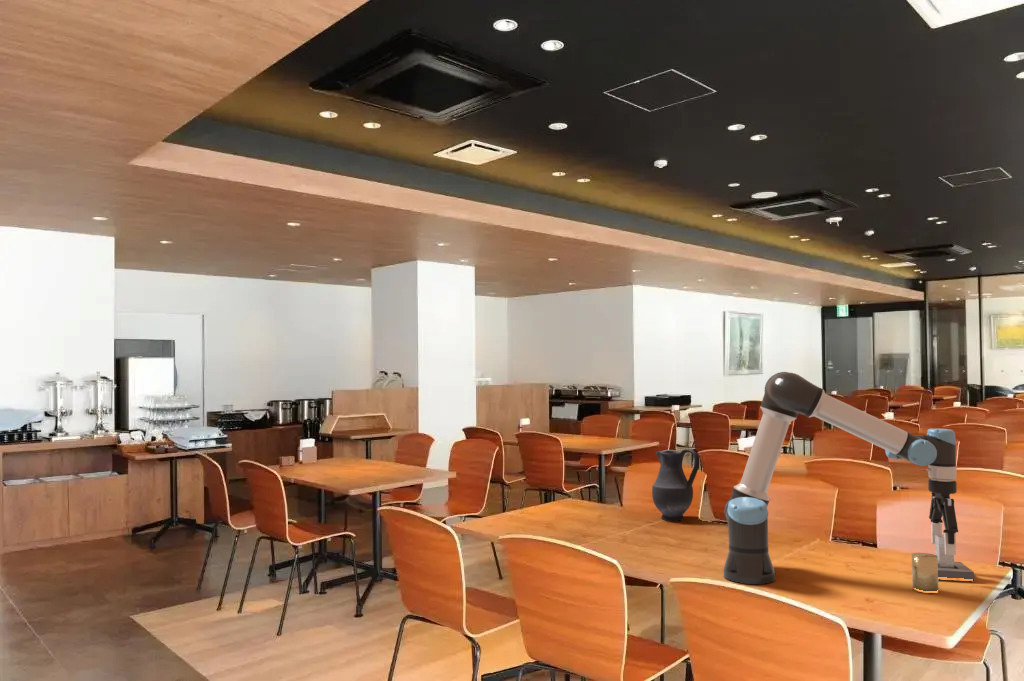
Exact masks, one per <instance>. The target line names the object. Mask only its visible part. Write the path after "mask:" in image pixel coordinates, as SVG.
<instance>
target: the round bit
mask: <svg viewBox="0 0 1024 681" xmlns="http://www.w3.org/2000/svg"><path fill="white" fill-rule="evenodd" d="M911 574H912V575H911V576H912V581H911V582H912V589H913V588H916V589H919V590H923V591H937V590H938V589H939V580H938V557H937V556H936V554H934V553H928V552H912V553H911ZM939 590H940V589H939Z"/></svg>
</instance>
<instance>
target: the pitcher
mask: <svg viewBox="0 0 1024 681" xmlns="http://www.w3.org/2000/svg"><path fill="white" fill-rule="evenodd" d="M686 453H689V454H691V455H693V457H694V464H693V466H692V467H693V468H692V470H691V473H690V475H689V478H687V477H686V475H685V472H684V470H683V468H684V467H683V461H684V457H685V455H686ZM655 455H656V457H657V458H658V461H659V464H660V467H659V471H658V474H657V477H656V480H655V482H653V485H652V488H651V495H652V496H651V497H652V500H653V504H654V506H655V507H656V509H658V511H660V513H661V514H662V515H661V517H660V519H662V521H668V522H669V521H670V522H679V521H678V520H682V521H684V520H685V517H684V514H685V513H686V511H688V509H689V508H690V507H691V505H692V503H693V499H694V489H693V484H694V480H695V479H696V476H697V473H698V471H699V468H700V467H699V466H700V457H699V454H698V453H697V452H696V451H695V450H694V449H691V448H685V449H682V450H681V451H680V450H674V449H666V450H662V451H661V450H659V451H656V452H655ZM683 519H684V520H683Z"/></svg>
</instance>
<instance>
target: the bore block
mask: <svg viewBox="0 0 1024 681" xmlns="http://www.w3.org/2000/svg"><path fill="white" fill-rule="evenodd" d="M938 577H947V578H964V579H974V580H975V572H974V571H973V570H972V569H971V568H970V567H968V566H966V565H965V564H964V563H963V562H961V561H954V569H952V568H938Z"/></svg>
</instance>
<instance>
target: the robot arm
mask: <svg viewBox="0 0 1024 681" xmlns="http://www.w3.org/2000/svg"><path fill="white" fill-rule="evenodd" d="M759 408H760V410H761V411H762V415H761V418H760V419H761V420H760V422H759V425H758V429H757V431H756V434H755V437H754V439H753V440H754V441H753V442H752V446H751V450H750V452H749V456H748V459H747V461H746V465H745V468H744V471H743V473H742V474H743V475H742V476H741V480H740V482H739V483H738V484H736V485H734V486H733V489H732V491H731V494H730V498H729V499H728V501H727V502H726V504H725V507H724V516H725V520H726V521H727V525H728V526H727V527H728V528H727V529H728V553H727V556H726V560H725V563H724V565H723V570H722V571H723V572H722V574H723V578H725V579H726V580H728V581H730V580H731V582H734V581H735V583H738V582H740V583H739V584H745V585H747V584H748V585H766V584H765V583H767V584H770V582H771V583H773V582H775V581H776V570H775V568H774V565H773V563H772V562H773V561H772V559H771V556H770V553H769V551H770V550H769V521H768V520H769V519H768V518H769V517H768V516H769V510H768V506H769V503H770V497H769V495H768V490H769V487H770V483H771V481H772V478H773V474H774V471H775V469H776V466H777V463H778V459H779V456H780V454H781V450H782V447H783V445H784V442H785V439H786V437H787V436H786V435H787V432H788V430H789V427H790V424H791V423H792V422H793V421H795V420H797V418H798V416H799V414H800V415H803V416H804V417H807V418H812V417H815V418H817V419H819V420H821V421H823V422H825V423H827V424H830V425H831V426H833V427H836V428H839V429H840V430H842V431H845V432H847V433H849V434H851V435H853V436H855V437H858V438H859V439H862V440H863V441H866V442H868V443H869V444H873V446H877V447H879V448H881V449H883V450H884V451H885V455H886V456H887V458H888V459H892V460H906V461H907V462H910V463H912V464H913V465H916V466H918V467H919V466H920V467H922V466H923V467H925V466H928V467H926V469H925V470H926V472H927V473H928V476H927V477H928V480H927V482H928V491H929V492H930V493H931V501H930V509H929V516H928V518H929V520H930V523H931V544H932V545H935V534H937V535H943V534H944V535H945V555H954V556H956V554H957V553H956V552H957V551H956V547H957V546H956V533H959V528H958V522H957V516H956V509H955V499H954V498H951V496H950V495H951V494H952V495H954V494H957V490H958V488H957V481H956V480H957V478H958V477H957V476H958V475H957V473H958V472H957V457H956V456H957V441H956V432H955V431H954V430H953V429H949V428H929V429H927V432H926V434H922V435H921V434H919V435H918V434H913V433H910V432H908V431H906V430H904V429H902V428H899V427H897V426H895V425H893V424H891V423H889V422H887V421H884V420H882V419H880V418H878V417H876V416H874V415H871V414H869V413H867V412H865V411H863V410H861V409H858V408H857V407H854V406H853V405H851V404H848V403H846V402H843V401H841V400H839V399H838V398H835V397H833V396H831V395H829V394H827V393H826V392H825V390H824V389H823V388H821V387H819V386H818V385H816V384H813V383H812V382H810V381H808V380H807V379H806V378H804V377H802V376H801V375H799V374H798V373H793V372H788V371H780V372H776V373H775V374H773V375H772V376H769V379H767V381H766V383H765V385H764V395H763V397H762V400H761V404H760V406H759ZM943 525H944V529H943V527H942V526H943ZM774 580H775V581H774Z"/></svg>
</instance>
